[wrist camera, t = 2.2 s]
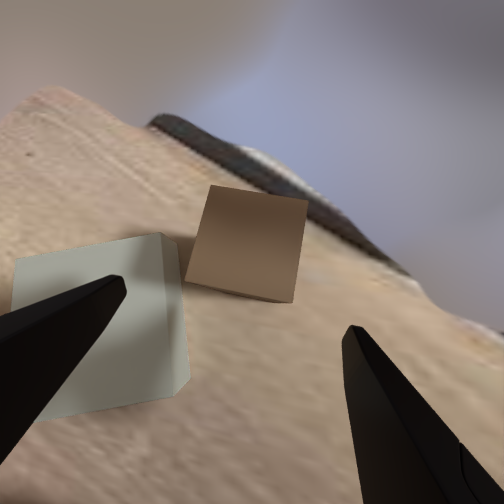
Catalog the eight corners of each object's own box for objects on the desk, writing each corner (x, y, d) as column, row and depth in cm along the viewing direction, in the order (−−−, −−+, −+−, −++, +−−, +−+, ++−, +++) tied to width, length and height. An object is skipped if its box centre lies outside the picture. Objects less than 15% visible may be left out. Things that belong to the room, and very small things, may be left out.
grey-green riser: (55, 402, 18) (-1, 429, 14) (60, 267, 21) (15, 259, 17) (192, 376, 18) (173, 396, 14) (178, 245, 21) (160, 232, 17)
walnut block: (276, 303, 19) (292, 303, 9) (222, 291, 19) (184, 280, 10) (285, 250, 20) (308, 200, 10) (234, 240, 21) (210, 184, 11)
